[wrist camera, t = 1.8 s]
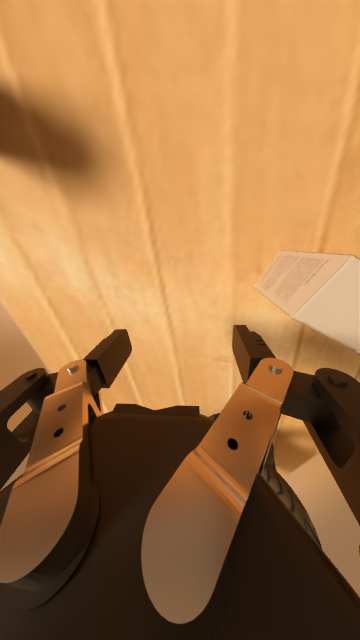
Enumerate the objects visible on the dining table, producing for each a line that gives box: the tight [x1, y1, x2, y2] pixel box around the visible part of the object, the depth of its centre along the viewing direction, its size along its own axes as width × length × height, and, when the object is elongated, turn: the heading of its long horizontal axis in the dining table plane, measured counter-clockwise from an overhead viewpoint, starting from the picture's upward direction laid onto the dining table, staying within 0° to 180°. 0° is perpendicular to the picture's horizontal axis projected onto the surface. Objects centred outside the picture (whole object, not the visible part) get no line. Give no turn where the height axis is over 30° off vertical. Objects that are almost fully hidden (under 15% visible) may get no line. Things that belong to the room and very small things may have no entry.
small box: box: [254, 250, 360, 355], centre depth 16 cm, size 8×6×10 cm
